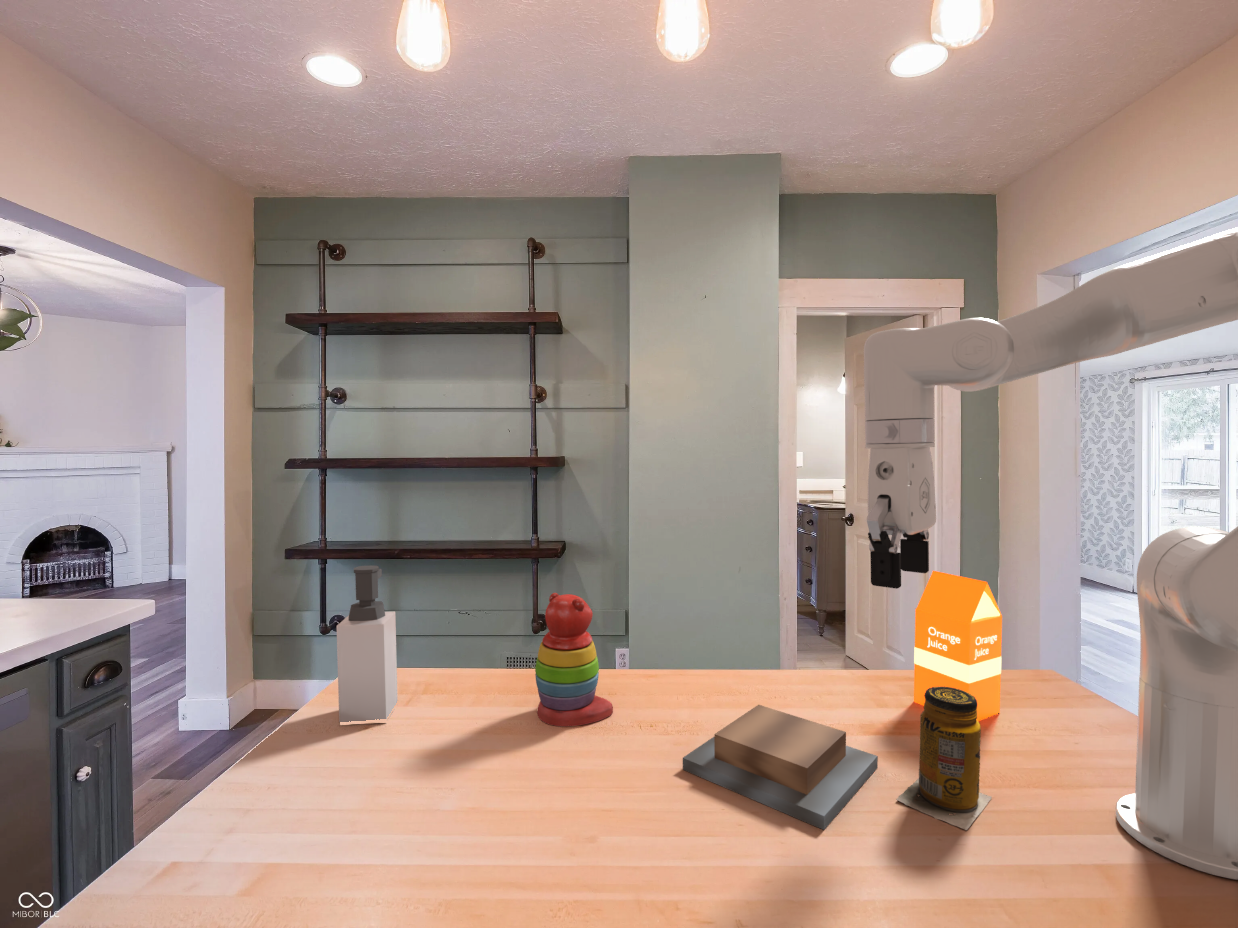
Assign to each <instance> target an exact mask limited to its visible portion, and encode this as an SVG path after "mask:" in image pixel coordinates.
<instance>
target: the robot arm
mask: <svg viewBox="0 0 1238 928" xmlns="http://www.w3.org/2000/svg"><path fill="white" fill-rule="evenodd" d="M1234 321H1238V226H1237V227H1235V228H1232V229H1228V230H1225V231H1222V232H1219V233H1215V234H1213V235H1211V236H1207V237H1204V238H1202V239H1199V240H1196V241H1193V242H1191V243H1187V244H1184V245H1180V246H1178V247H1175V248H1172V249H1170V250H1166V251H1163V252H1160V253H1157V254H1154V255H1151V256H1147V257H1144V258H1141V259H1138V260H1135V261H1133V262H1129V263H1126V264H1123V265H1120V266H1116V267H1114V268H1111V269H1110V270H1108V271H1105V272H1103V273H1101V274H1098V275H1096V276H1095V277H1093V278H1091V279H1089V280H1087V281H1085V282H1084V283H1083V284H1081V285H1079V286H1078V287H1075V288H1074V289H1073V290H1071V291H1069V292H1068V293H1066V294H1064V295H1061V296H1060V297H1058V298H1056V299H1054V300H1051V301H1049V302H1047V303H1045V304H1042V305H1040V306H1038V307H1034V308H1032V309H1030V310H1027V311H1024V312H1022V313H1019V314H1015V315H1013V316H1009V317H1006V318H1005V319H1001V320H997V321H995V320H994V319H990V318H986V317H985V318H984V317H970V318H963V319H959V320H955V321H951V322H945V323H943V324H937V325H933V326H928V327H923V328H922V327H921V328H917V327H908V328H907V327H903V328H902V327H901V328H891V329H886V330H881V331H877V332H874V333H872V334H870V335H869V336H868V337H867V339H866V340H865V342H864V345H863V377H864V378H863V382H864V383H863V384H864V385H863V387H864V389H863V390H864V392H863V393H864V443H865V447H864V448H865V449H869V450H870V451H869V462H868V463H869V464H868V479H867V517H866V523H867V527H868V533H867V537H868V540H869V545H868V549H869V551H870V553H869V554H870V556H869V557H870V583H871V585H872V586H874V587H881V588H882V587H883V588H888V589H895V590H896V589H900V588H901V587H902V571H903V572H910V573H918V574H919V573H920V574H926V573H929V571H930V557H929V556H930V551H929V548H930V547H929V546H930V543H929V542H930V541H929V537H930V533H929V530H930V529H931V528H932V527H933V526H935V525H936V523H937V510H936V508H937V507H936V506H937V505H936V504H937V503H936V490H935V488H936V487H935V475H934V465H933V457H932V453H931V448H935V447H936V446H935V441H936V439H935V386H943V387H944V386H945V387H946V386H947V387H950V388H952V389H954V390H957V391H960V392H976V391H977V392H978V391H982V390H986V389H990V388H993V387H996V386H999V385H1003V384H1007V383H1011V382H1013V381H1016V380H1017V381H1018V380H1020V379H1025V378H1028V377H1031V376H1036V375H1038V374H1043V373H1046V372H1049V371H1053V370H1056V369H1059V368H1060V369H1061V368H1063V367H1066V366H1070V365H1073V364H1074V365H1075V364H1077V363H1082V362H1086V361H1089V360H1090V361H1091V360H1095V359H1101V358H1105V357H1106V358H1107V357H1111V356H1115V355H1118V354H1122V353H1125V352H1129V351H1132V350H1135V349H1138V348H1143V347H1145V346H1149V345H1153V344H1156V343H1159V342H1163V341H1167V340H1171V339H1174V338H1178V337H1180V336H1183V335H1184V336H1185V335H1189V334H1191V333H1194V332H1198V331H1201V330H1205V329H1209V328H1212V327H1216V326H1220V325H1224V324H1227V323H1230V322H1234ZM890 536H891V538H890ZM902 536H903V538H902ZM899 544H900V545H899ZM899 546H900V547H899ZM898 548H900V552H898ZM1136 593H1137V604H1138V614H1139V615H1138V616H1139V617H1138V618H1139V632H1140V634H1139V635H1140V651H1139V652H1140V653H1139V655H1140V657H1139V658H1140V659H1139V676H1138V677H1139V678H1138V701H1137V704H1138V705H1137V707H1138V709H1137V729H1136V730H1137V731H1136V732H1137V733H1136V734H1137V735H1136V764H1135V787H1134V788H1135V790H1134V793H1130V794H1126V795H1123V796H1121V798H1119V799H1118V800H1117V802H1116V803H1115V817H1116V820H1117V821H1118V823H1119V824H1120V826H1121V827H1122V828H1123V829H1124V830H1125V831H1126V832H1127V834H1129V835H1130V836H1131V837H1132V838H1134V839H1135V840H1136V841H1138V842H1139V843H1140V844H1142V845H1143V846H1145V847H1147V848H1148V849H1149V850H1151V851H1153V852H1155V853H1156V854H1159V855H1160V856H1162V857H1165V858H1167V859H1169V860H1171V861H1173V862H1176V863H1178V864H1180V865H1182V866H1186V867H1188V868H1191V869H1193V870H1197V871H1199V872H1203V873H1206V874H1210V875H1213V876H1216V877H1222V878H1225V879H1231V880H1236V881H1238V525H1237V526H1235V528H1234V529H1232V530H1231V531H1229V532H1228V531H1226V530H1222V529H1218V528H1214V527H1207V526H1206V527H1205V526H1188V527H1187V526H1186V527H1181V528H1176V529H1172V530H1170V531H1167V532H1164V533H1163V534H1161V535H1159V536H1158V537H1156V538H1155V539H1154V540H1153V541H1151V542H1150V543H1149V544H1148V545H1147V546H1146V548H1144V550H1143V552H1142V554H1141V557H1140V559H1139V562H1138V565H1137V570H1136Z"/></svg>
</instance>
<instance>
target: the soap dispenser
mask: <svg viewBox="0 0 1238 928" xmlns="http://www.w3.org/2000/svg"><path fill="white" fill-rule="evenodd" d="M353 573H354V575H355V579H354V581H355V601H358V602H355V603H353V604H351V605H350V608H349V609H350V610H349V613H348V616H346V617H345V618H344V619H343V620H341V622H339V623H338V624H337V625H336V650H337V651H336V654H337V655H336V656H337V659H336V660H337V685H338V689H337V690H338V719H339V721H338V723H339V722H349V721H350V722H351V721H366V720H375V719H376V720H377V719H379V720H380V719H387V717H388V716H389V714H390V713H391V711H392V709H393V708H394V706H395V705H396V703H397V701H399V700H398V668H397V667H398V666H397V663H398V662H397V658H398V657H397V628H396V627H397V626H396V625H397V623H396V622H397V621H396V620H397V619H396V618H397V617H396V611H394V610H393V611H385V605H384V603H383V601H381V600H379V601H378V600H376V599H378V598H379V579H380V578H381V577H383V574H382V573H383V571H382V568H380V567H379V566H378V565H359V566H356V567H353Z"/></svg>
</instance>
